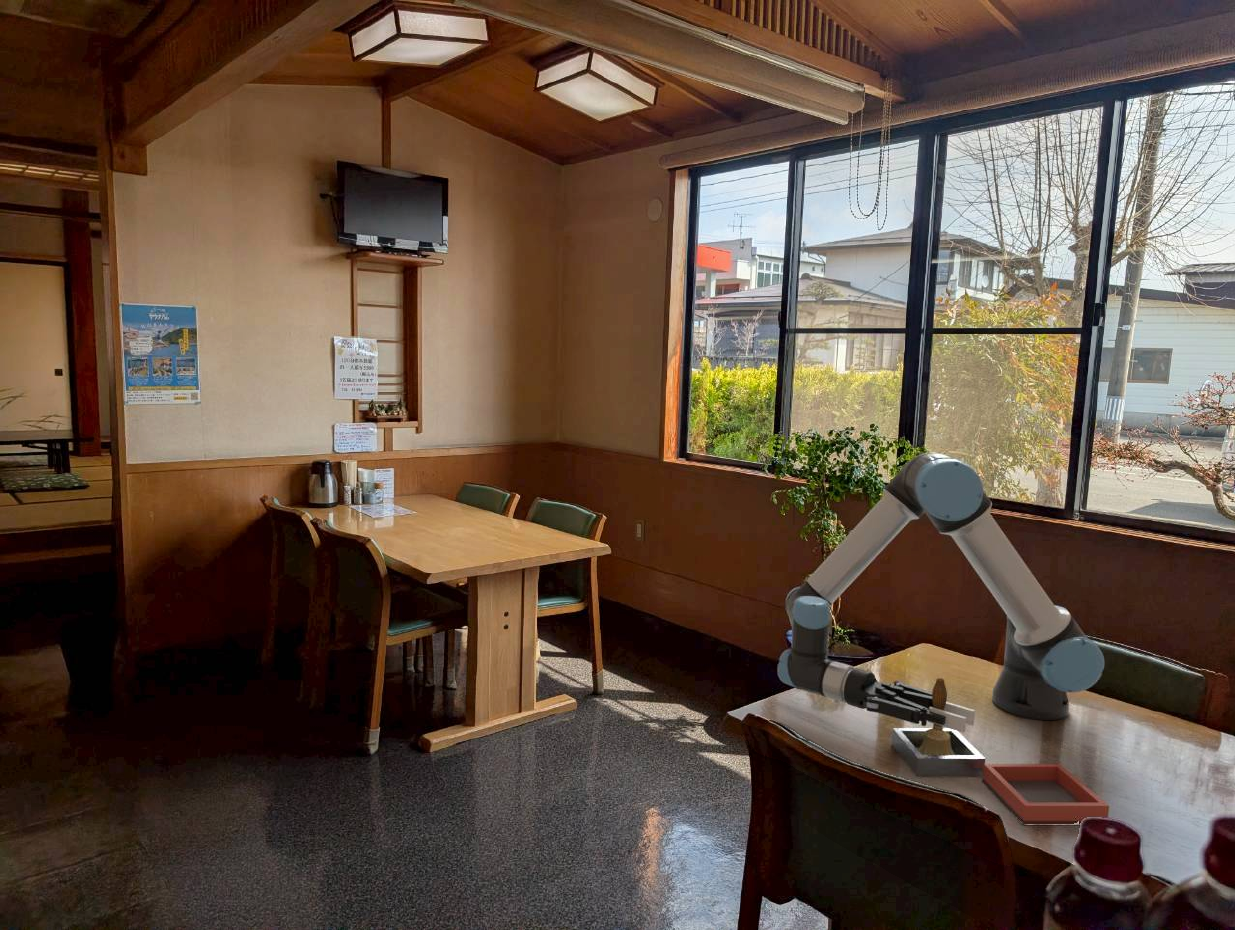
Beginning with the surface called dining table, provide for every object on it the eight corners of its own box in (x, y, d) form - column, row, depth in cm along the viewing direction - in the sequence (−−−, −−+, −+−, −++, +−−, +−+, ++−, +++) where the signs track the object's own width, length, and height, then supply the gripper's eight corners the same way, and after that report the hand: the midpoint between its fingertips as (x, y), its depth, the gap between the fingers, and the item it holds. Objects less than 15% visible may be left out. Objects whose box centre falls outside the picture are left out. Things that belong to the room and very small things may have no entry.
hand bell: (917, 768, 152) (923, 686, 150) (908, 748, 160) (914, 669, 159) (964, 773, 151) (971, 690, 149) (953, 752, 159) (959, 673, 157)
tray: (1058, 781, 149) (1059, 764, 148) (1107, 825, 135) (1109, 805, 134) (982, 781, 148) (983, 763, 148) (1023, 825, 134) (1025, 805, 134)
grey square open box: (953, 745, 162) (954, 728, 162) (983, 776, 150) (985, 758, 149) (891, 745, 162) (892, 728, 161) (917, 776, 149) (918, 758, 149)
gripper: (868, 691, 173) (983, 726, 158) (829, 715, 161) (950, 756, 145) (870, 657, 172) (986, 689, 157) (831, 678, 160) (953, 715, 144)
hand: (968, 721), depth 151 cm, fingers open, 4 cm apart
